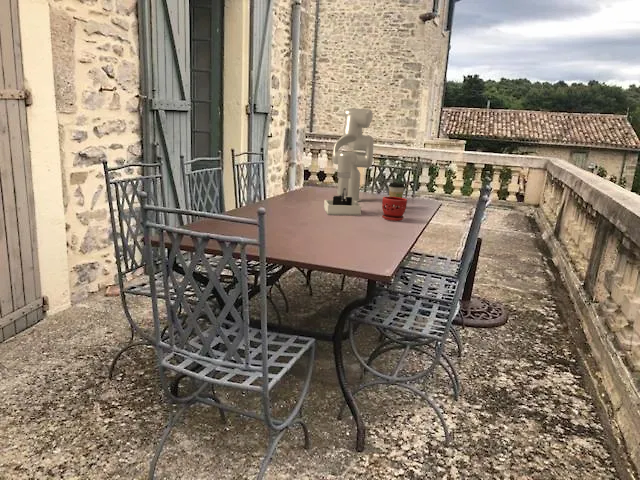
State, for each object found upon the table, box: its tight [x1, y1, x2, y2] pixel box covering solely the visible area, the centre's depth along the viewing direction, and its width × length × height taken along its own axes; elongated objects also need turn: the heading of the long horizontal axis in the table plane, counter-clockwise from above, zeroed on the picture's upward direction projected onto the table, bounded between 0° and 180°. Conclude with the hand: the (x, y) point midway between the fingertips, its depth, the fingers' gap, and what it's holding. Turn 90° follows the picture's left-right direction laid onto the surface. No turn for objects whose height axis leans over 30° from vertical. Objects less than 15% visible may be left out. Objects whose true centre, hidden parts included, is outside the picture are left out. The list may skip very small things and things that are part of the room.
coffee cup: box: [388, 181, 406, 207], centre depth 300 cm, size 10×10×15 cm
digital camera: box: [332, 195, 352, 206], centre depth 276 cm, size 10×5×7 cm, turn 77°
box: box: [323, 199, 362, 217], centre depth 277 cm, size 17×19×6 cm
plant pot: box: [381, 196, 408, 222], centre depth 264 cm, size 13×13×12 cm
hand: (342, 206), depth 277 cm, fingers closed on digital camera, 6 cm apart
